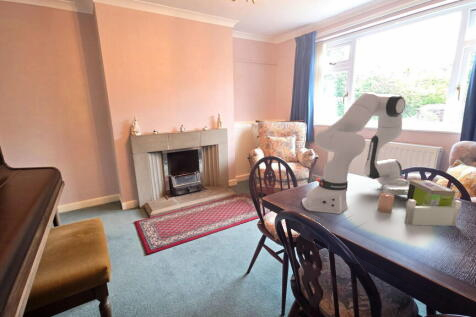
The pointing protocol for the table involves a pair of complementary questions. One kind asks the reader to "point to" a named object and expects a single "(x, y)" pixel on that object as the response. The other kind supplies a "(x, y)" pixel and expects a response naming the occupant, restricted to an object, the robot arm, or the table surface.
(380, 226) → the table surface
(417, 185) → the tea box
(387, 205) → the tan small cylinder
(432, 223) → the display rail
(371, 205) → the table surface
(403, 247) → the table surface
